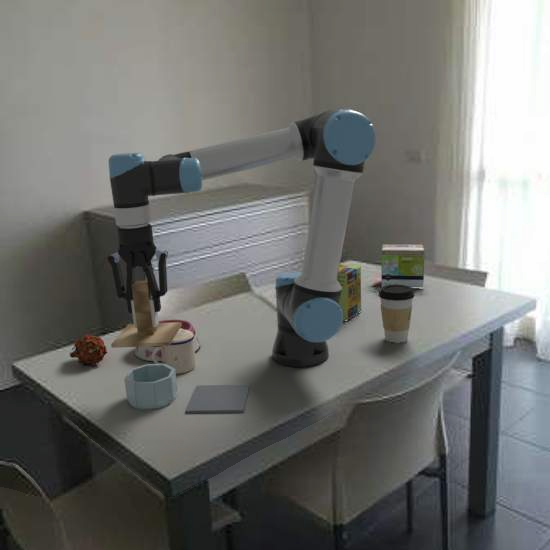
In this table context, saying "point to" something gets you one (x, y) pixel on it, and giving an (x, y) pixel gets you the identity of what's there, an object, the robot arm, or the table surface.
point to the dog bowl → (146, 351)
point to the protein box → (350, 290)
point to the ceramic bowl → (151, 386)
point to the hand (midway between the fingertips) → (146, 325)
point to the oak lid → (145, 323)
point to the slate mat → (218, 399)
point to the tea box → (402, 265)
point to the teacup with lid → (178, 352)
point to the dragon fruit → (89, 350)
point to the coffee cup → (396, 311)
